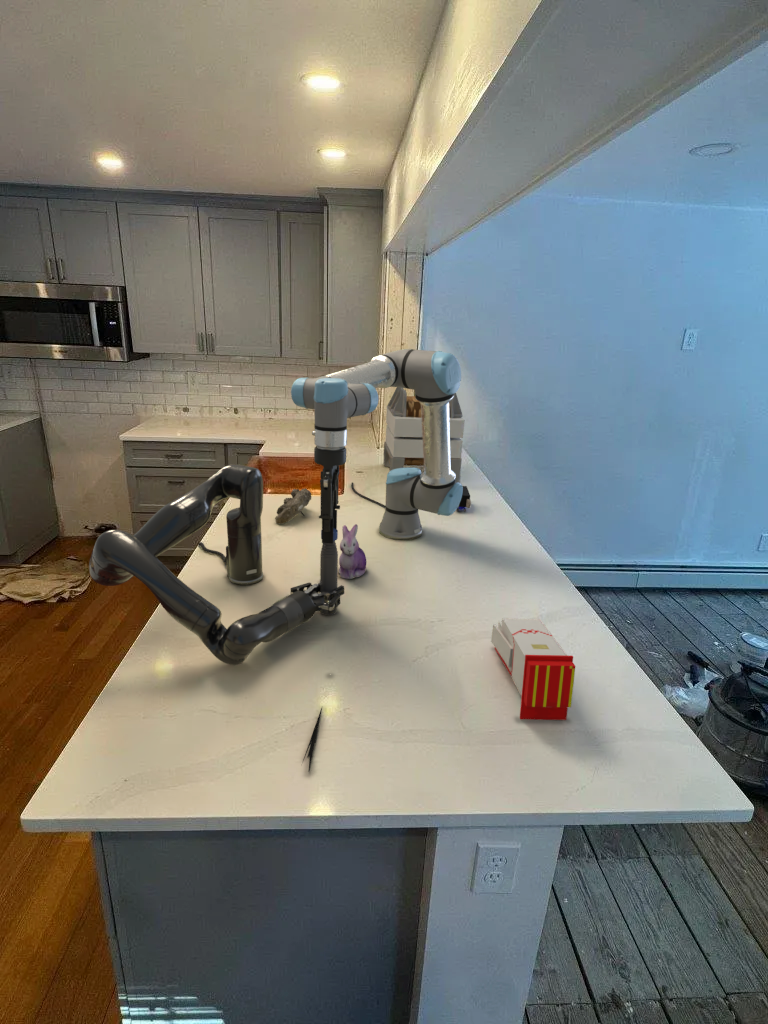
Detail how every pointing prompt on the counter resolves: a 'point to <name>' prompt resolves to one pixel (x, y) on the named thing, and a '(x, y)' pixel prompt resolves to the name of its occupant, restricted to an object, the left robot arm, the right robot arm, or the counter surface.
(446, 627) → the counter surface
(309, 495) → the fossil
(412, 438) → the white wooden crate
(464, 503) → the figurine character
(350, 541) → the figurine
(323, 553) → the bottle
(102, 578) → the left robot arm
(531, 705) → the toy
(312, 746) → the feather
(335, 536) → the cap
